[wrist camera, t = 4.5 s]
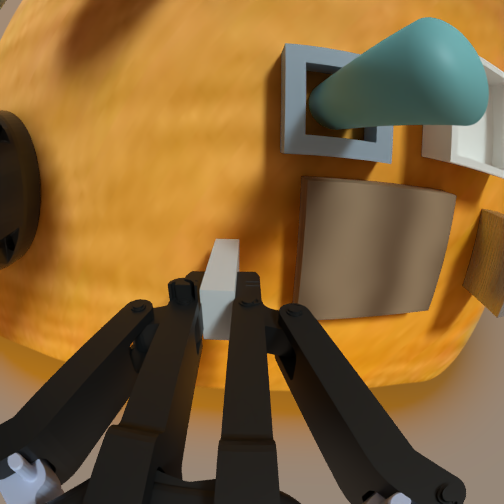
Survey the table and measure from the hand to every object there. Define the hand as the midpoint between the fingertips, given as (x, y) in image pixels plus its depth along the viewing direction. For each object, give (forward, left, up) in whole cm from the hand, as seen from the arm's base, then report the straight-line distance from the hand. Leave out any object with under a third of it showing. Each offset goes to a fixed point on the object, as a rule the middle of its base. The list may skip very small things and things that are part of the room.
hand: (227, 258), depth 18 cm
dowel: (+7, +10, -2) cm, 12 cm away
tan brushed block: (+11, 0, -2) cm, 11 cm away
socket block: (+7, +10, -2) cm, 12 cm away
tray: (+19, +12, -2) cm, 23 cm away
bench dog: (+24, 0, -2) cm, 24 cm away
